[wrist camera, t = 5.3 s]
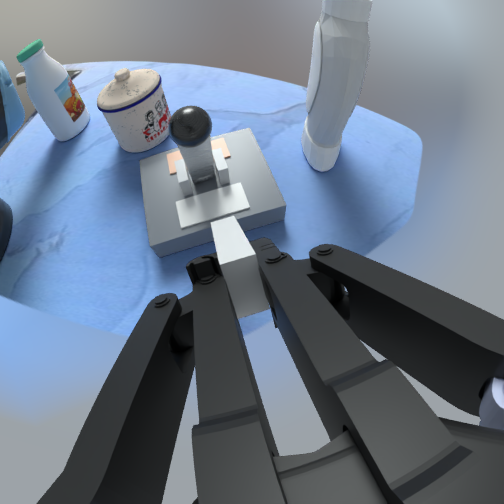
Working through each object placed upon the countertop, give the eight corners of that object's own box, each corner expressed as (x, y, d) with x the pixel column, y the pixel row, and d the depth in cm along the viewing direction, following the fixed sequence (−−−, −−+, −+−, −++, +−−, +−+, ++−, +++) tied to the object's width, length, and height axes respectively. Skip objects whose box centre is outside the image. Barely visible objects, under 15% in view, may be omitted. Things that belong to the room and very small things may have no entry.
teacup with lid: (160, 156, 34) (132, 89, 24) (108, 154, 35) (75, 97, 25) (190, 102, 39) (176, 41, 28) (142, 103, 40) (122, 49, 29)
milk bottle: (70, 145, 37) (16, 60, 19) (51, 139, 39) (2, 65, 20) (98, 115, 40) (56, 28, 21) (77, 111, 41) (37, 36, 23)
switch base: (284, 219, 30) (288, 191, 25) (159, 257, 29) (140, 235, 24) (250, 144, 35) (249, 113, 30) (147, 174, 33) (132, 147, 28)
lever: (220, 183, 29) (216, 129, 16) (193, 192, 29) (169, 143, 16) (212, 159, 29) (204, 92, 16) (186, 166, 29) (160, 105, 16)
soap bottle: (284, 111, 37) (291, -45, 15) (335, 117, 37) (365, -33, 14) (279, 177, 32) (291, -35, 10) (342, 184, 32) (405, -11, 9)
